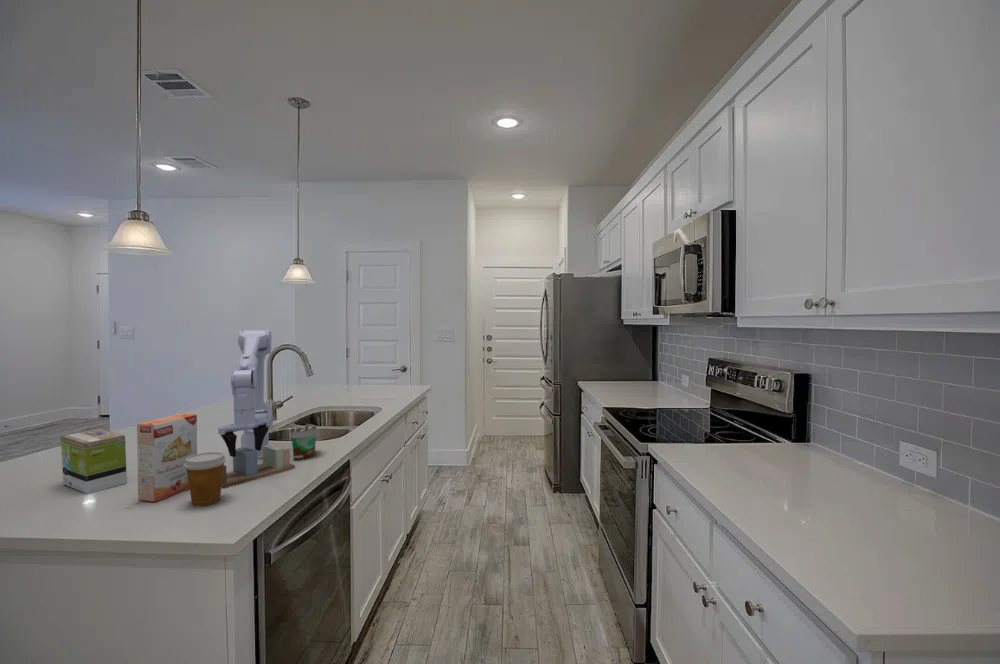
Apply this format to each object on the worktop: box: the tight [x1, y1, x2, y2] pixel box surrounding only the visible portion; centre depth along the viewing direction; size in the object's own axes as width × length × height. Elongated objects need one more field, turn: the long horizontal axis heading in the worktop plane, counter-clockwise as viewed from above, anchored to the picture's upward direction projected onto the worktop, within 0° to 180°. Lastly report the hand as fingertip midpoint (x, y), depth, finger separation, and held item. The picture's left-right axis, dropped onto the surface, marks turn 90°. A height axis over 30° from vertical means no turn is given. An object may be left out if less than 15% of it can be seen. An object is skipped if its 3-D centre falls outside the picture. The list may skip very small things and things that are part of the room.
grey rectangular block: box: [232, 447, 259, 477], centre depth 147 cm, size 8×4×7 cm, turn 54°
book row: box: [262, 444, 291, 469], centre depth 155 cm, size 8×4×6 cm, turn 55°
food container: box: [290, 423, 319, 461], centre depth 167 cm, size 12×6×10 cm, turn 179°
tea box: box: [60, 428, 128, 495], centre depth 140 cm, size 15×10×15 cm, turn 62°
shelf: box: [221, 463, 296, 489], centre depth 148 cm, size 10×22×6 cm, turn 145°
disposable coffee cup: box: [184, 451, 227, 507], centre depth 127 cm, size 10×10×12 cm
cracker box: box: [136, 413, 198, 503], centre depth 133 cm, size 14×6×21 cm, turn 168°
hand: (245, 453), depth 147 cm, fingers open, 7 cm apart
